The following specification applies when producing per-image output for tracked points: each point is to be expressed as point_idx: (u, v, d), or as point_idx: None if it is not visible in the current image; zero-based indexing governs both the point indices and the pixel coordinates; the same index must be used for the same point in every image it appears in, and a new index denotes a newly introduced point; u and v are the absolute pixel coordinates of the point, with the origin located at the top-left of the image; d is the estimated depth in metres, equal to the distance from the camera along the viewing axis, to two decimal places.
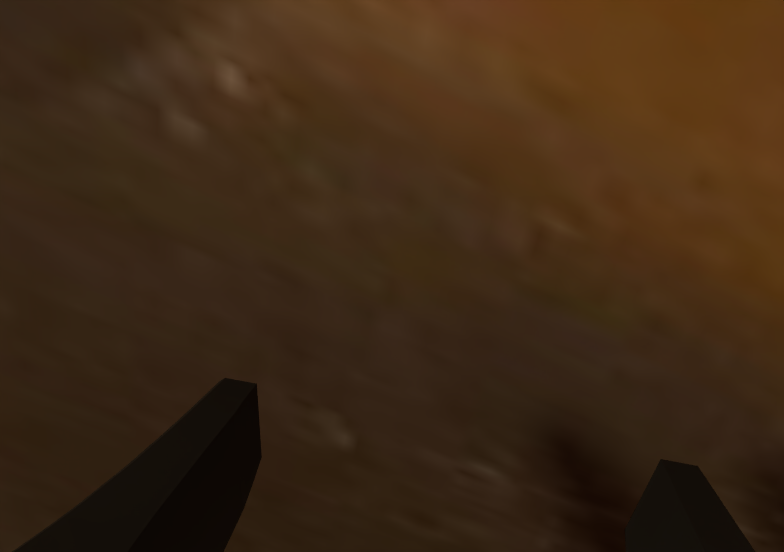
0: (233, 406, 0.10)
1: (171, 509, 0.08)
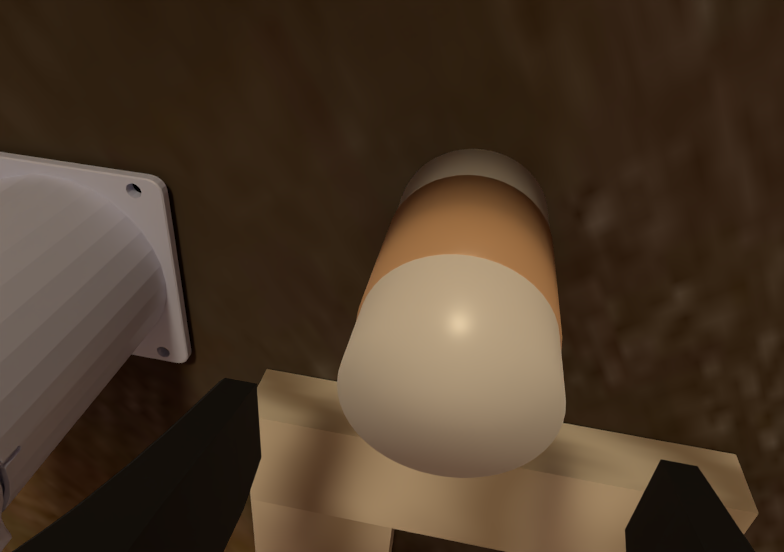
0: (233, 406, 0.10)
1: (171, 509, 0.08)
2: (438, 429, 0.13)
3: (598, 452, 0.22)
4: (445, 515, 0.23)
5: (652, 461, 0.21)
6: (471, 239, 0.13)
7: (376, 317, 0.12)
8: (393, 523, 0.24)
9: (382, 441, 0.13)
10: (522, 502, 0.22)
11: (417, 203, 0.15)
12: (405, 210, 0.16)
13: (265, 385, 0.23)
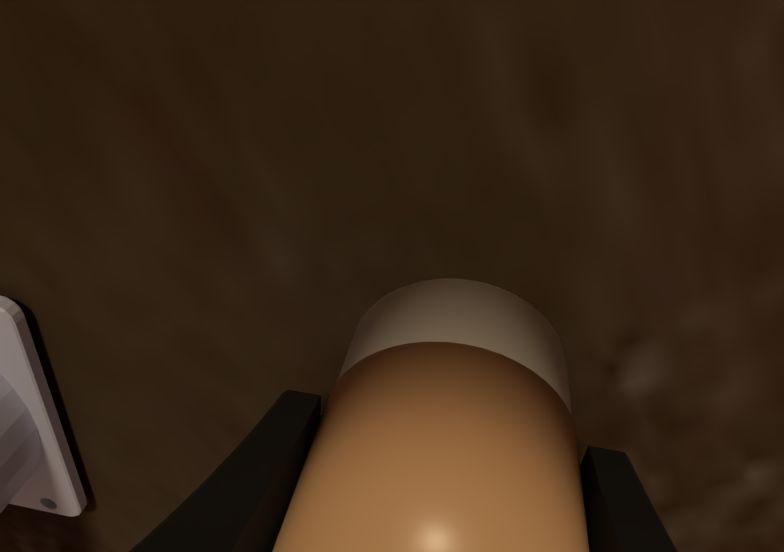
0: (302, 419, 0.10)
1: (253, 526, 0.08)
2: None
3: None
4: None
5: None
6: (441, 524, 0.07)
7: None
8: None
9: None
10: None
11: (361, 395, 0.10)
12: (344, 401, 0.10)
13: None
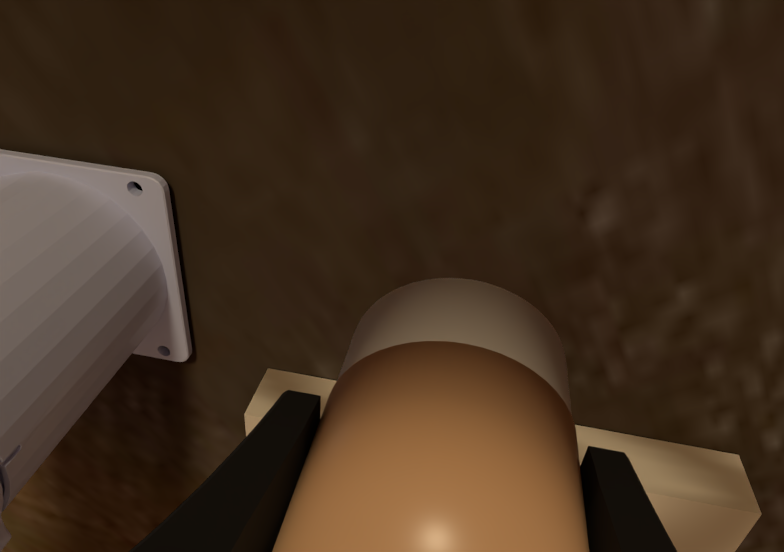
0: (302, 419, 0.10)
1: (253, 526, 0.08)
2: None
3: None
4: None
5: (655, 461, 0.21)
6: (441, 523, 0.07)
7: None
8: None
9: None
10: None
11: (362, 394, 0.10)
12: (344, 401, 0.10)
13: (266, 384, 0.23)
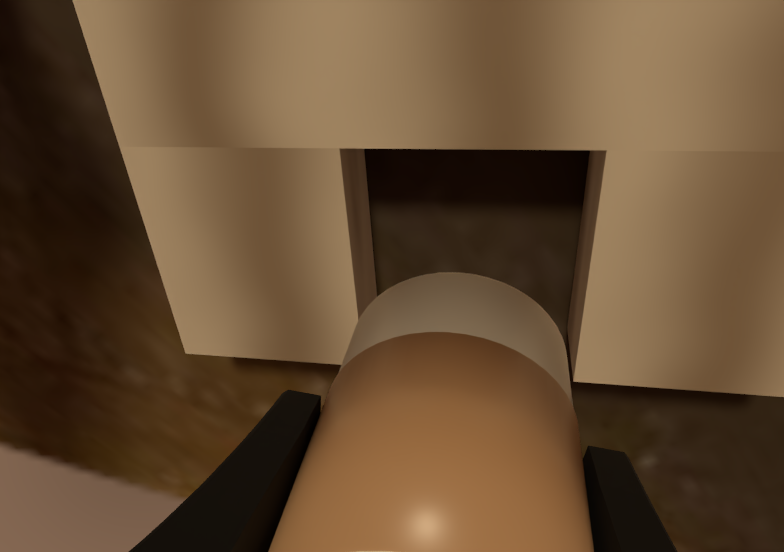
0: (302, 419, 0.10)
1: (253, 526, 0.08)
2: None
3: None
4: (418, 84, 0.13)
5: None
6: (442, 506, 0.07)
7: None
8: (339, 135, 0.14)
9: None
10: None
11: (362, 385, 0.09)
12: (344, 392, 0.10)
13: None
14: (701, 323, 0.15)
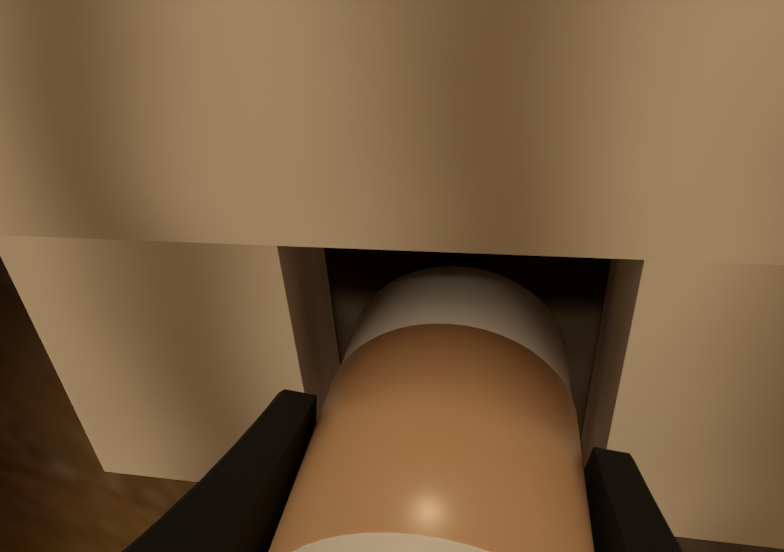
0: (298, 418, 0.10)
1: (248, 525, 0.08)
2: None
3: None
4: (379, 167, 0.09)
5: None
6: (444, 490, 0.07)
7: None
8: (276, 229, 0.10)
9: None
10: (559, 55, 0.08)
11: (365, 375, 0.10)
12: (347, 382, 0.10)
13: None
14: (764, 471, 0.12)
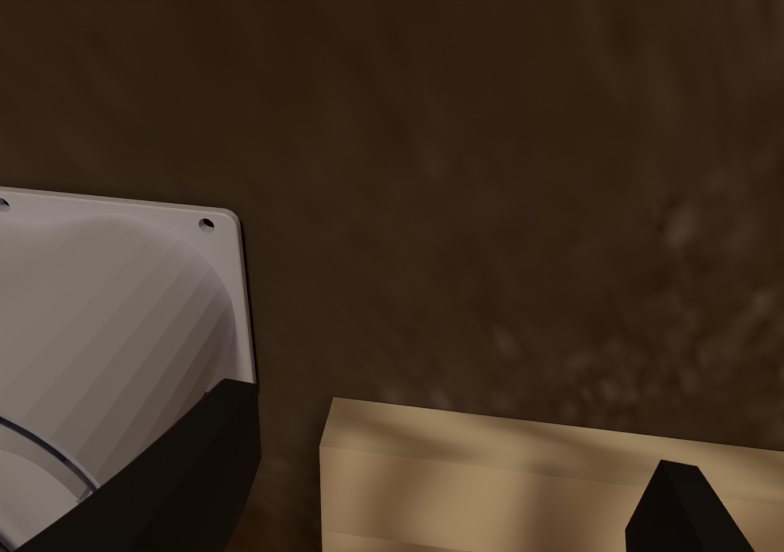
0: (233, 406, 0.10)
1: (171, 509, 0.08)
2: None
3: (677, 461, 0.22)
4: (524, 535, 0.23)
5: (732, 467, 0.21)
6: None
7: None
8: (470, 546, 0.23)
9: None
10: (604, 517, 0.22)
11: None
12: None
13: (335, 414, 0.23)
14: None
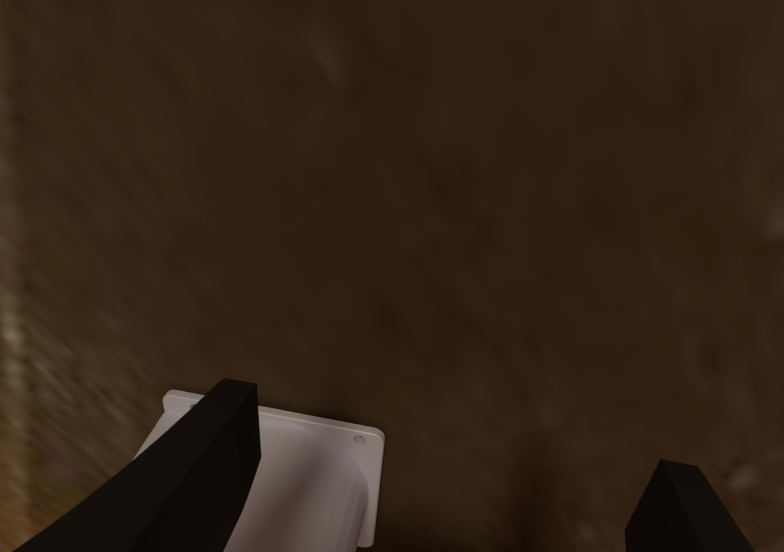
0: (233, 406, 0.10)
1: (171, 509, 0.08)
2: None
3: None
4: None
5: None
6: None
7: None
8: None
9: None
10: None
11: None
12: None
13: None
14: None
